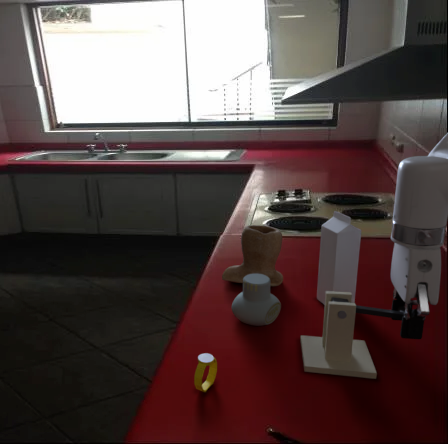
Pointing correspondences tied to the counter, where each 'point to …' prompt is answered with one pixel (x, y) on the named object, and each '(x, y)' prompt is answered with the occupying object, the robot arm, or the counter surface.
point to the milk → (338, 256)
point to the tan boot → (257, 255)
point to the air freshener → (256, 301)
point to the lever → (375, 310)
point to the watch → (203, 361)
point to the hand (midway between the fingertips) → (405, 327)
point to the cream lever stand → (337, 343)
